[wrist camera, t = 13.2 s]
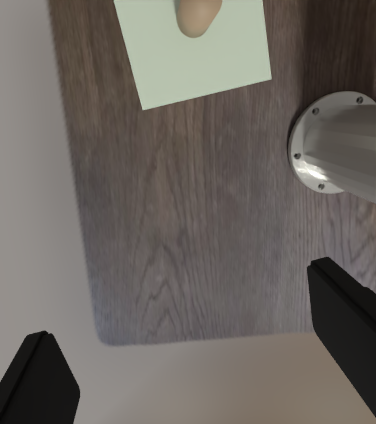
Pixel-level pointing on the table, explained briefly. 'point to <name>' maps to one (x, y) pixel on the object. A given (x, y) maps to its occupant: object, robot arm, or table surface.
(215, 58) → the lid
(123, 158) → the table surface
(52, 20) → the table surface
